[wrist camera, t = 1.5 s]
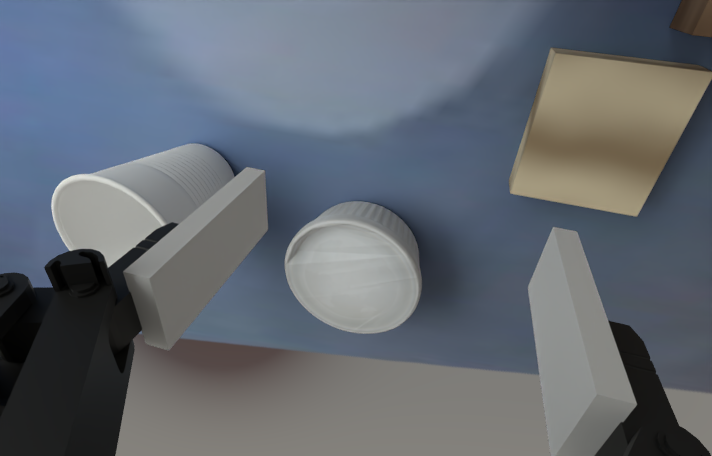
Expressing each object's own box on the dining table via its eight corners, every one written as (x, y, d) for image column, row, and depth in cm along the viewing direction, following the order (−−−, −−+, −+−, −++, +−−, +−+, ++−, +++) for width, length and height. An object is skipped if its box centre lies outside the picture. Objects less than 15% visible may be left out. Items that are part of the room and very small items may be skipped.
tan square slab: (549, 46, 25) (555, 53, 23) (695, 63, 23) (715, 72, 21) (508, 178, 30) (510, 193, 28) (626, 198, 28) (636, 216, 26)
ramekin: (363, 162, 32) (345, 192, 28) (456, 256, 34) (452, 298, 30) (283, 234, 38) (257, 268, 34) (366, 310, 40) (352, 351, 36)
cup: (277, 171, 34) (203, 244, 25) (231, 240, 40) (157, 319, 31) (177, 94, 33) (62, 143, 24) (144, 177, 38) (41, 241, 30)
